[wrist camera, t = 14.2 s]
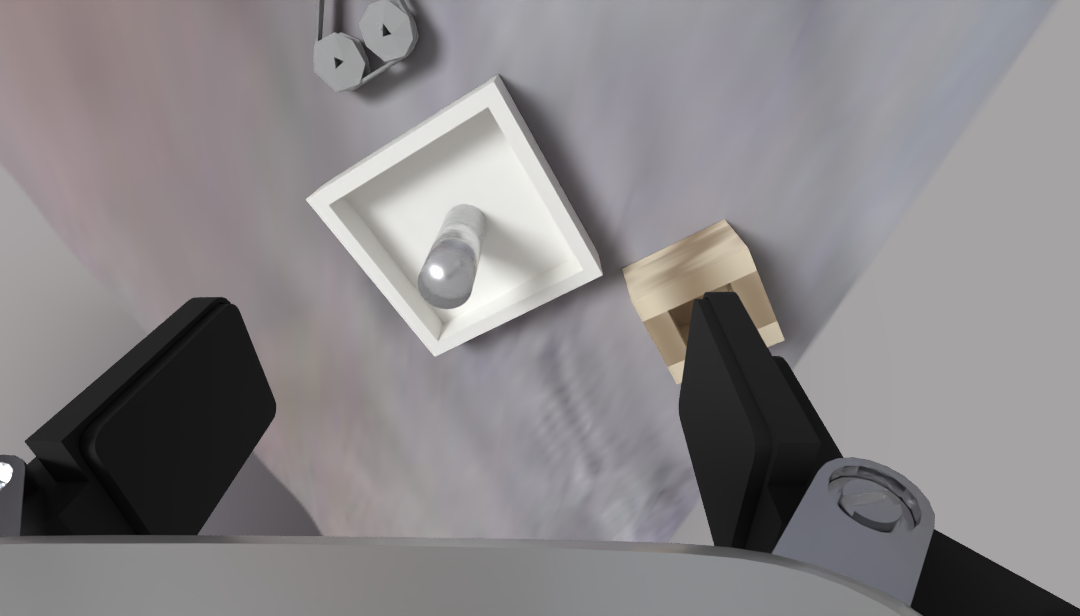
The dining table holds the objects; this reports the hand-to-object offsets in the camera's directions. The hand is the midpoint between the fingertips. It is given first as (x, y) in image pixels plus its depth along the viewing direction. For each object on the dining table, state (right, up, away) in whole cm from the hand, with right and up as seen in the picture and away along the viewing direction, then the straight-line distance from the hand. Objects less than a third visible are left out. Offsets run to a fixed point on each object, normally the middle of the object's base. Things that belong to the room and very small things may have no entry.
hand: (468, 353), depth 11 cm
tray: (-4, +7, +26) cm, 28 cm away
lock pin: (-4, +7, +26) cm, 27 cm away
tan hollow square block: (+13, +3, +29) cm, 32 cm away
